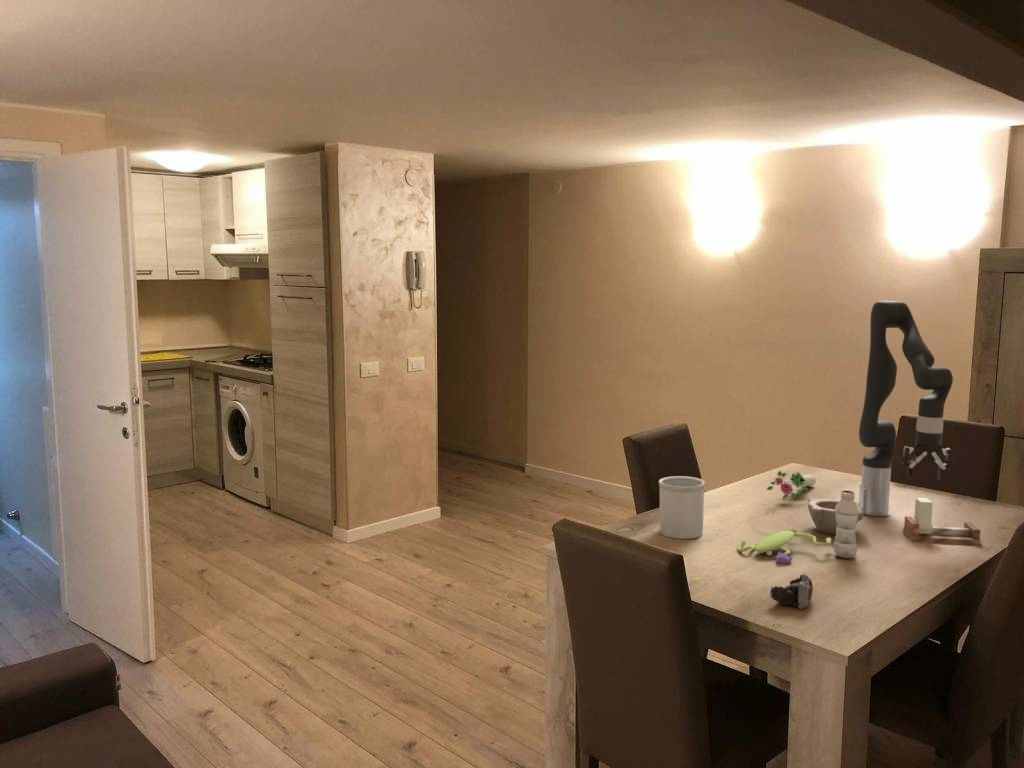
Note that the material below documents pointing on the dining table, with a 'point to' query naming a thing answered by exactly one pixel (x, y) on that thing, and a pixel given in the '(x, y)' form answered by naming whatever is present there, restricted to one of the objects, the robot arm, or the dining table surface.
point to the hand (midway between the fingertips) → (925, 479)
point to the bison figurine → (794, 592)
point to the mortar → (827, 514)
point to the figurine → (780, 544)
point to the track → (949, 537)
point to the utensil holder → (681, 507)
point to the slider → (923, 515)
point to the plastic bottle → (846, 526)
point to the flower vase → (796, 480)
